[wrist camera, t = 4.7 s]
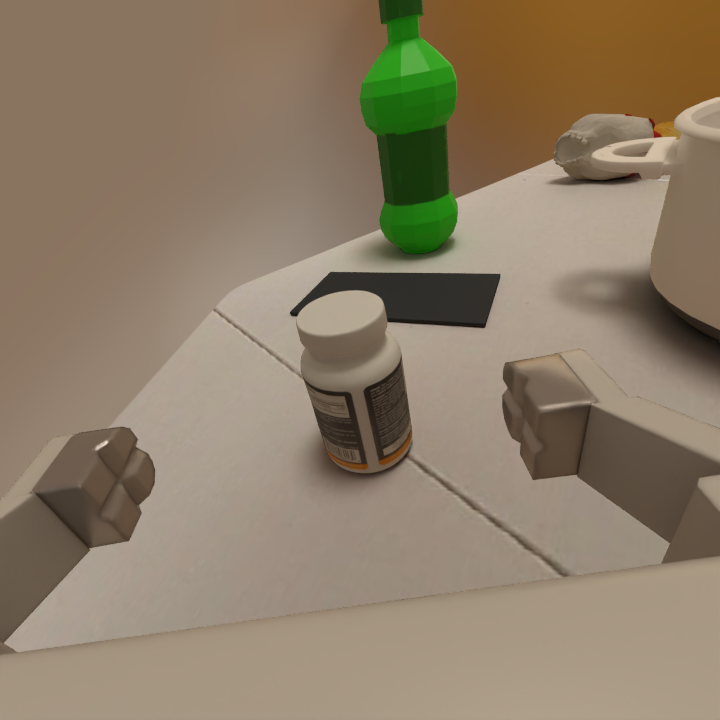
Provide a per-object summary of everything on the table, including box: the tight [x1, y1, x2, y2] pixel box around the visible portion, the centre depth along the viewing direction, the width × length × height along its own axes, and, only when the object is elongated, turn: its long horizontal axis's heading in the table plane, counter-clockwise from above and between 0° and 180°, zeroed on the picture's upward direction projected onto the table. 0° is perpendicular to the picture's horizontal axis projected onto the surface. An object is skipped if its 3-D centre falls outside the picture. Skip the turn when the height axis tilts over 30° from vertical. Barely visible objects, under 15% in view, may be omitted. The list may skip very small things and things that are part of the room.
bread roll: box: [653, 122, 681, 140], centre depth 72 cm, size 8×9×4 cm
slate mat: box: [290, 272, 500, 327], centre depth 43 cm, size 20×10×1 cm, turn 67°
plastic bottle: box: [360, 0, 458, 254], centre depth 47 cm, size 10×10×25 cm
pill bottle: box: [296, 290, 412, 473], centre depth 24 cm, size 6×6×10 cm
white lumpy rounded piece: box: [553, 114, 662, 180], centre depth 62 cm, size 9×11×15 cm
